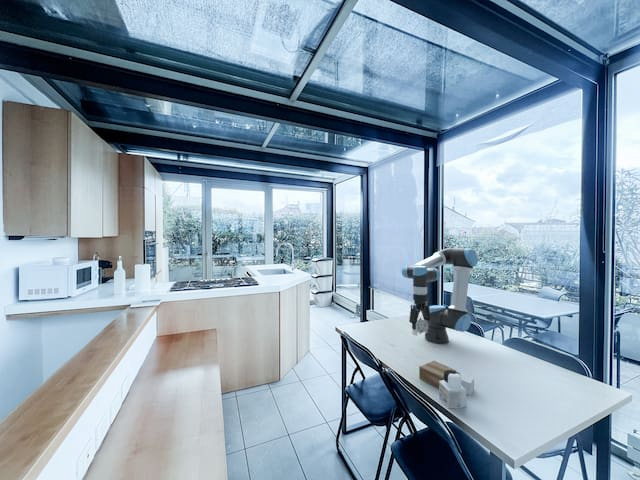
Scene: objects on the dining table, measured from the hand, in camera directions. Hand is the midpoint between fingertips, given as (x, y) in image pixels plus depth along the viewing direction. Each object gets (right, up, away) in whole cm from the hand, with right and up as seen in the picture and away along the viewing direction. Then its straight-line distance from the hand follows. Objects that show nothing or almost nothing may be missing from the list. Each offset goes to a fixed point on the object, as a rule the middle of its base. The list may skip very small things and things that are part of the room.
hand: (420, 333), depth 148 cm
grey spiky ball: (0, -1, 0) cm, 1 cm away
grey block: (+10, -17, -28) cm, 34 cm away
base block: (+1, -17, -19) cm, 25 cm away
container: (0, -17, -36) cm, 40 cm away
